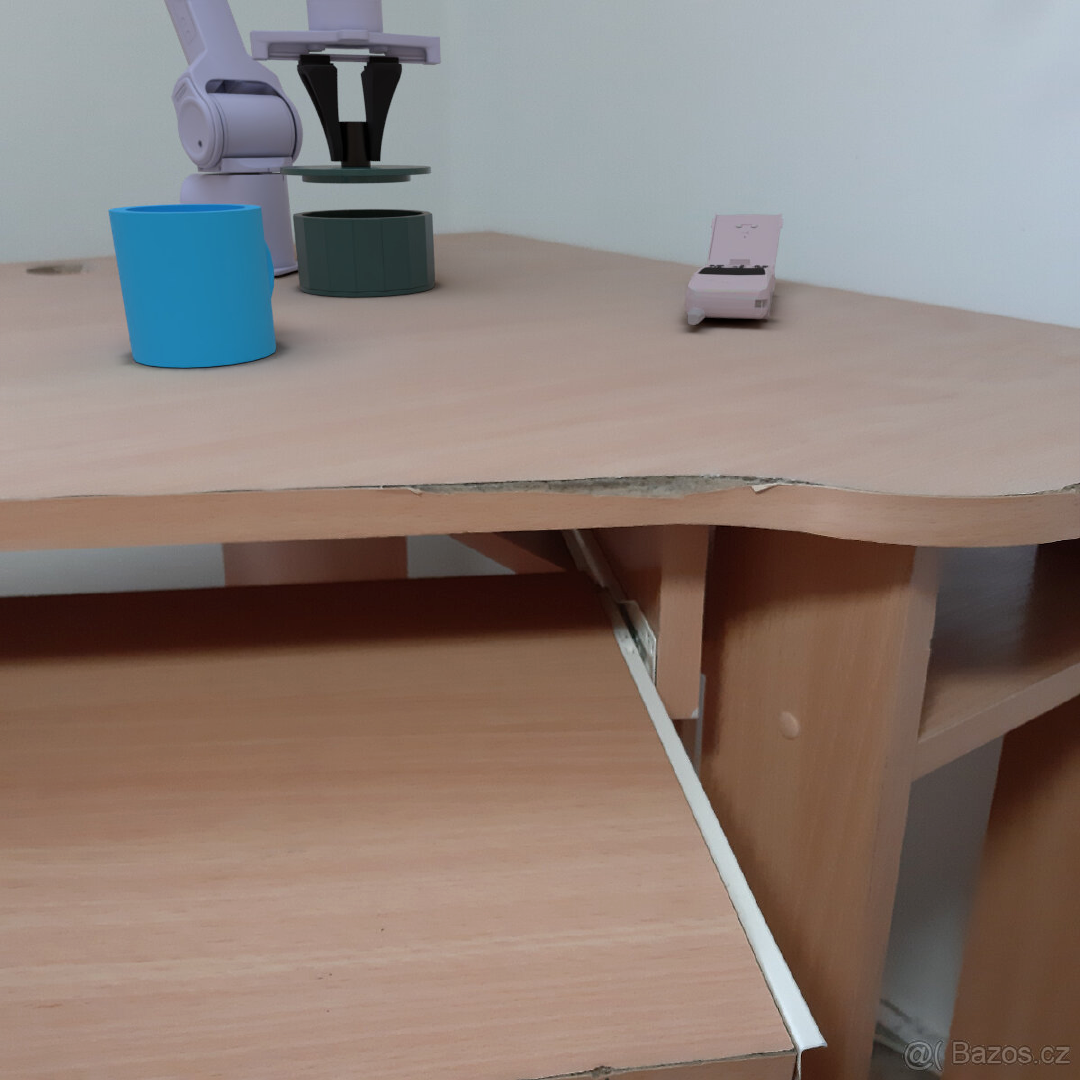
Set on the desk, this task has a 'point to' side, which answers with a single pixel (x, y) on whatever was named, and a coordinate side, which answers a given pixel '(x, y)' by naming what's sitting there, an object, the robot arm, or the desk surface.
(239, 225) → the mug
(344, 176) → the lid
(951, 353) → the desk surface
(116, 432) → the desk surface
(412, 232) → the tin
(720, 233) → the pale pink hinged device
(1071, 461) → the desk surface
